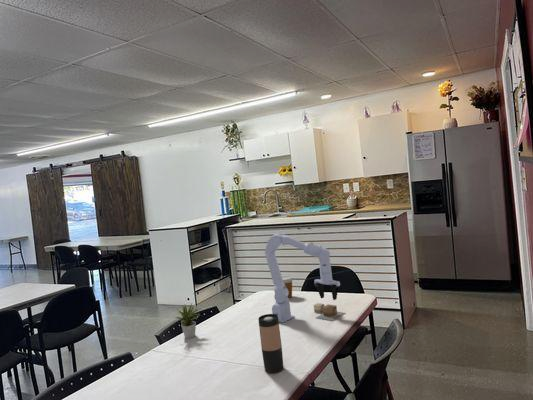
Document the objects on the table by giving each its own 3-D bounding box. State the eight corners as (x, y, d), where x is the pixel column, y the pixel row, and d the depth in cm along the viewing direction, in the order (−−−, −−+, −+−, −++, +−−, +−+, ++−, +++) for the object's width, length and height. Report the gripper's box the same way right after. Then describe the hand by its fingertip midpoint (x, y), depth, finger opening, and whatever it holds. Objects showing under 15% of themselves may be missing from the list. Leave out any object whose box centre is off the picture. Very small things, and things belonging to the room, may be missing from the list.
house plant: (198, 342, 185) (193, 308, 184) (170, 343, 188) (166, 309, 187) (208, 331, 199) (204, 299, 198) (182, 332, 202) (179, 300, 201)
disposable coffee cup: (277, 299, 240) (275, 280, 239) (281, 295, 249) (279, 276, 249) (292, 299, 237) (290, 279, 237) (296, 294, 246) (294, 275, 246)
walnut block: (331, 317, 197) (330, 308, 197) (323, 315, 200) (322, 307, 200) (337, 314, 200) (336, 305, 200) (329, 312, 204) (328, 304, 204)
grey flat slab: (332, 321, 192) (332, 320, 192) (315, 318, 199) (315, 317, 199) (345, 313, 201) (345, 312, 201) (329, 310, 208) (329, 310, 208)
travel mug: (272, 363, 154) (266, 312, 154) (288, 367, 149) (282, 315, 149) (260, 371, 148) (253, 319, 148) (275, 375, 143) (269, 321, 143)
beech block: (320, 313, 206) (319, 306, 206) (314, 312, 209) (313, 305, 208) (325, 311, 209) (324, 303, 209) (318, 310, 211) (318, 302, 211)
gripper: (342, 271, 197) (345, 298, 198) (318, 269, 207) (321, 294, 208) (334, 274, 192) (337, 302, 193) (310, 272, 202) (313, 298, 203)
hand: (328, 298), depth 200 cm, fingers open, 7 cm apart
